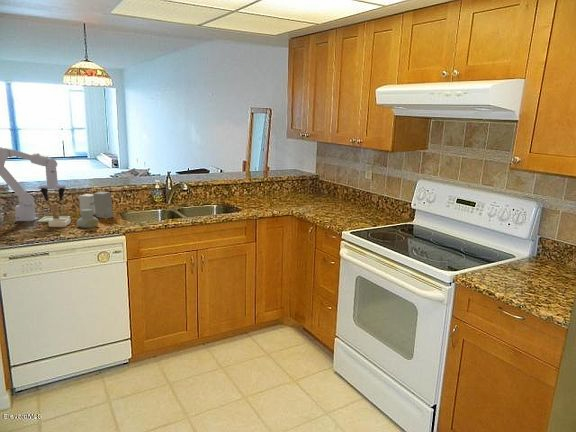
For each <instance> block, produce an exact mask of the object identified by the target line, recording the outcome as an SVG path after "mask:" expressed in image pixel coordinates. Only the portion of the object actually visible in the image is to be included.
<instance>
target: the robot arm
mask: <svg viewBox="0 0 576 432" xmlns="http://www.w3.org/2000/svg"><path fill="white" fill-rule="evenodd" d="M14 157H16V158H20V159H25V160H28V161H30V163H31V164H33V165H38V166H41V167H45V179H46V184H44V185H38V190H40V192H41V194H42V196H43V197H44V199H45V202H48V201H49V196H48V193H49V192H48V191H49V190H57V191H58V197H59V198H58V199H59V202H61V201H63V196H64V193H65V190H66V189H67V185H61V184H58V172H57V171H58V170H57V168H58V167H57V166H58V163H57V160H56V159H53V158H51V157H49V156H47V155H41V154H40V153H38V152H37V153H33V154H29V153H26V152H23V151H20V150H17V149H12V148H7V147H2V146H0V177H1V179H3V180H4V182H5V183H6V184H7V185H8V186H9V188H11V191H13V193H15V195H16V196H17V199H18V201H19V202H20V203H19V204H17V205H15V207H14V212H15V213H14V216H15V222H31V221H35V220H37V219H38V218H39V217H38V216H37V217H36V212H35V211H36V210H35V209H36V208H35V198H34V196H33V195H31V194H29V193H28V192H27V191H26V190H25V189H24V187H22V186H21V184H20V183H19V182H18V181H17V180H16V179H15V177H14V176H13V175H12V174H11V172H10V171H9V170H8V169H7V168H6V167H5V163H6V160H7V159H8V158H14Z"/></svg>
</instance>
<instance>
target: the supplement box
mask: <svg viewBox="0 0 576 432" xmlns="http://www.w3.org/2000/svg"><path fill="white" fill-rule="evenodd" d="M78 201H79V202H78V203H79V213H80V214H79V216H81V210H82V209H92V210H93V216H95V215H96V210H95V203H94V196H93V194H92V193H85V194H80V195H78Z"/></svg>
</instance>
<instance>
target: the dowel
mask: <svg viewBox="0 0 576 432" xmlns="http://www.w3.org/2000/svg"><path fill="white" fill-rule="evenodd" d="M51 210H52V216H53V219H59V216H60V210H59V204H58V203H53V204H51Z"/></svg>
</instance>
